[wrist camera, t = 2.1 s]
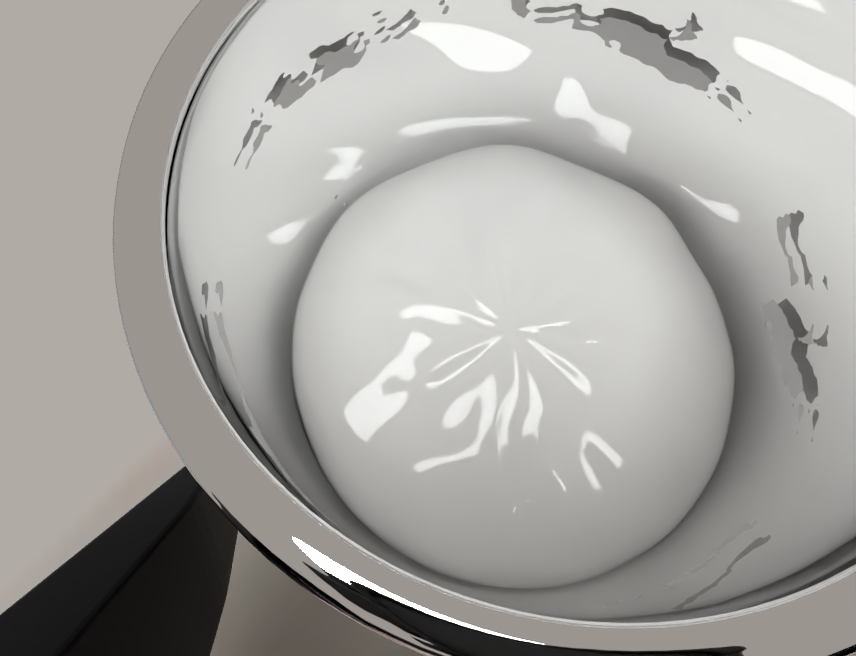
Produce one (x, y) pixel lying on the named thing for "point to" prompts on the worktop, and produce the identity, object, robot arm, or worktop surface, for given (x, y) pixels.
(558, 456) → the beer glass
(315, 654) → the worktop surface
